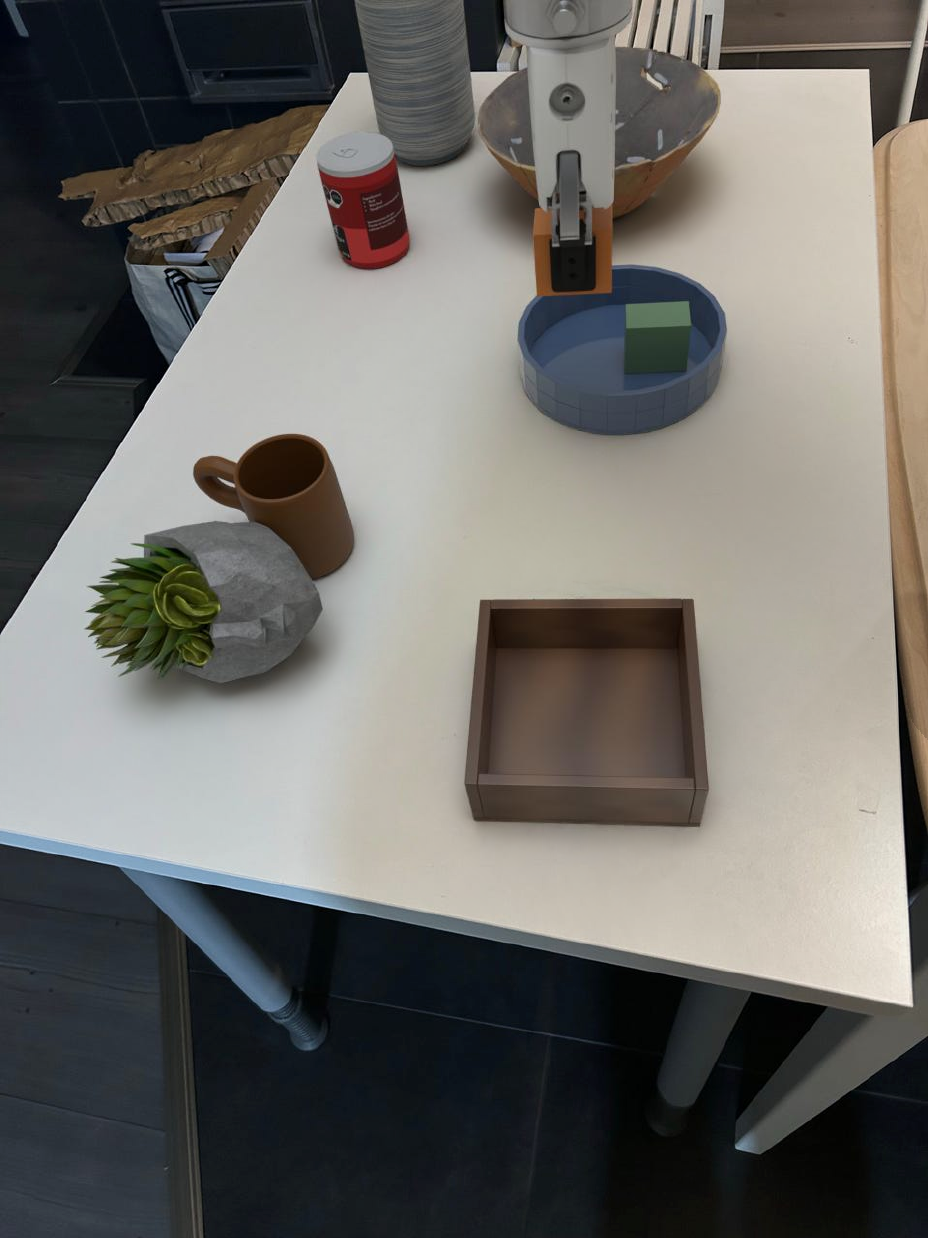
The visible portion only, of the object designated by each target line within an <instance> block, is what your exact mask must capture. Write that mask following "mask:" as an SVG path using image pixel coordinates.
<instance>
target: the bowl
mask: <svg viewBox="0 0 928 1238" xmlns="http://www.w3.org/2000/svg"><path fill="white" fill-rule="evenodd" d="M615 52H616V114H615V166H614V200H613V203H612V220H613V219H617V218H620V217H621V216H624V215H626V214H628V213H630V212H632V211H633V210H635V209H637V208H638V207H640V206H641V205H642V204H644V203H645V202H646V201H647V200H649V198H651V196H652V195H653V194H654V193H655V192H656V191H657V190H658V189H659V188H660V187H661V186H662V184H663V183H664V182H665V181H666V180H667V179H668V178H670V176H671V175H672V174H673V173H674V172H675V171H676V170H677V169H678V168H679V166H680V165H681V164H682V163H683V161H684V160H685V159H686V158H687V157H688V156H689V154H690V153H691V152H692V151H693V150H694V149H695V148H696V146H697V145H698V144H699V143H700V142H701V141H702V139H703V138H704V137H705V135H706V134H707V133H708V131H709V130H710V129H711V126H712V125H713V123H714V122H715V121H716V119H717V117H718V115H719V113H720V109H721V103H722V94H721V89H720V87H719V83H717V81H716V80H715V78H713V77H712V76H711V75H710V74H709V73H708V72H707V71H706V70H705V69H704V68H703V67H702V66H700V65H699V64H696V63H694V62H693V61H691V60H690V59H689V60H688V59H684V58H683V57H680V56H677V55H675V54H672V53H669V52H666V51H663V50H662V51H661V50H660V51H658V49H654V48H645V47H633V46H631V47H630V46H615ZM647 74H648V75H649V76H650V78H651V79H653V80H654V81H655V82H656V83H659V84H660V85H661V89H660V87H659V86H657V85H656V84H654V83H653V82H652V81H651V80H650V79H648V76H647ZM477 126H478V127H477V130H478V135H479V136H480V138H481V140H482V141H483V144H485V146H486V148H487V150H488V151H489V153H490V154H491V156H492V157H494V159H495V160H496V161H497V162H498V163H499V164H500V165H501V166H502V168H503V169H504V170H505V171H506V172H507V173H508V174H509V175H510V176H511V177H512V178H513V179H514V180H515V181H516V182H517V184H519V185H520V186H521V187H522V188H523V189H524V190H525V191H526V192H527V193H528V194H529V195H531V196H533V198H535V199H536V200H537V201H539V199H538V190H537V181H536V172H535V162H534V152H533V141H532V129H531V115H530V101H529V86H528V70H527V66H525V67H524V68H522V69H520V70H518V71H516V72H514V73H512V74H510V75H509V76H507V77H506V78H505V79H504V80H503V81H502V82H501V83H500V84H498V86H496V87H495V88H494V89H493V90H492V91H491V92H490V93H489V94H488V95H487V96H486V97H485V99H484V100H483V102H482V103H481V105H480V107H479V111H478V115H477Z"/></svg>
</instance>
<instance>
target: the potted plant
mask: <svg viewBox="0 0 928 1238" xmlns="http://www.w3.org/2000/svg"><path fill="white" fill-rule="evenodd" d="M143 536H144V537H143V538H144V539H143V543H141V542H140V543H139V542H138V543H137V542H132V543H130V545H132V546H135V547H139V548H140V547H141V548H143V556H142V557H139V556H138V557H129V558H128V557H127V558H118V557H115V558H114V559H115V560H111V564H113V563H114V564H120V565H122V566H126V567H122V568H121V567H120V568H112V569H109V572H113V573H110V574H106V575H102V576H99V578H100V579H104V580H101V581H98V583H100V584H95V585H94V584H92V585H88V586H86V588H89V589H92V590H94V591H95V592H97V593H99V594H101V595H100V596H99V598H101V600H99V601H97V602H96V603H94V604H92V605H91V606H90V609H88V610H85V611H84V613H89V614H90V613H92V614H96V615H97V614H98V615H97V616H95V617H94V618H93V619H92V620H91V621H90V623H89V625H88V626H86V627H85V628H84V630H87V631H91V633H90V634H89V635H88V636H87V638H90V637H95V641H94V642H93V644H95V645H96V648H95V650H96V651H98V650H102V649H115V648H119V647H121V648H119V649H117V650H114V651H111V652H109V653H107V654H105V655H103V656H101V659H103V658H104V659H106V658H110V657H116V656H117V658H116V659H115V661H114V662H113V663H112V665H110V667H114V666H116V665H118V664H119V665H122V664H125V663H127V665H126V668H127V669H125V670H124V671H123V672H121V673H120V674H119V675H117V678H119V677H122V676H124V675H127V674H130V673H131V672H133V671H134V672H137V671H139V670H141V669H142V668H145V667H146V666H148V665H150V664H151V663H152V662H153V663H152V665H150V667H149V668H148V671H149V670H152V671H156V670H157V669H158V668H160V669H159V671H158V675H157V678H156V681H157V680H159V679H160V680H162V679H163V678H165V677H166V676H168V674H169V673H170V672H171V671H172V670H173V669H174V668H176V669H179V672H182V671H184V672H186V673H189V674H191V675H194V676H197V677H199V678H202V679H205V680H208V681H210V682H211V681H212V682H215V683H219V684H224V683H228V682H231V681H235V680H239V679H243V678H247V677H251V676H255V675H259V674H264V673H267V672H268V671H270V670H271V669H273V668H274V667H275V666H277V665H278V664H280V663H281V662H282V661H285V659H287V658H288V657H289V656H291V655H292V654H293V653H294V651H295V650H296V649H297V647H298V646H299V645H300V644H301V642H302V641H303V640H304V639H305V637H306V636H307V635H308V634H309V632H310V631H311V630H312V628H313V627H314V626H315V624H316V623H317V621H318V619H319V618H320V615H321V613H322V611H323V603H322V600H321V596H320V592H319V590H318V588H317V586H316V585H315V583H314V581H313V580H312V579H311V578H310V576H309V575H308V573H307V571H306V570H305V568H304V567H303V565H302V563H301V562H300V560H299V559H298V557H297V556H296V554H295V553H294V551H293V549H292V548H291V547H290V546H289V545H287V544H286V543H285V542H284V541H283V540H282V539H281V538H280V537H279V536H277V535H276V534H275V533H274V532H273V531H272V530H271V529H270V528H268V527H266V526H264V525H261V524H259V523H256V522H254V521H253V522H249V521H242V522H226V521H218V520H214V521H213V520H212V521H208V522H207V521H206V522H200V523H199V522H198V523H193V524H186V525H181V526H178V527H177V526H176V527H173V528H168V529H165V530H159V531H156V532H152V533H148V534H144V535H143ZM96 636H97V637H96ZM122 646H123V647H122Z"/></svg>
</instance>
